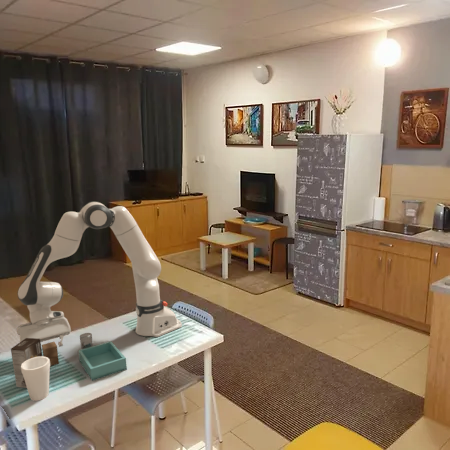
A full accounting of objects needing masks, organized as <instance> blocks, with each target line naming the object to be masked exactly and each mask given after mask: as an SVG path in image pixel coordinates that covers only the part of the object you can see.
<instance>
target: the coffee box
mask: <svg viewBox="0 0 450 450" xmlns="http://www.w3.org/2000/svg"><path fill="white" fill-rule="evenodd" d="M10 352H11V359H12V366H13V371H14V378H15V386H16V387H17V388H23V389H27V386H26V383H25V380H24V377H23V374H22V371H21V365H22V363H23V362H25V361H26V360H28V359H30V358H34V357H40V356H43V351H42V342H40V339H36V338H25V339H24V340H23V341H21V342H20V341H19V343H16V345H14V346H13V347H11V348H10Z"/></svg>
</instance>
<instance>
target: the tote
mask: <svg viewBox="0 0 450 450" xmlns="http://www.w3.org/2000/svg"><path fill="white" fill-rule="evenodd" d="M77 352H78V360H79V363H80V364H81V367H82V368H83V370H84V371H85V372H86V374H87V375H88V377H89V379H90V380H91V381H96V380H100V379H102V378H106V377H108V376H112V375H114V374H117V373H120V372H124V371H127V369H128V367H127V358H126V357H125V355H124V354H123V353H122V352H121V351H120V350H119V348H117V346H116V345H115V344H114V343H113V341H111V340H110V341H107V342H103V343H101V344H97V345H93V346H92V347H89V348H85V349H82V350H81V349H79V350H78V351H77Z"/></svg>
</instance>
